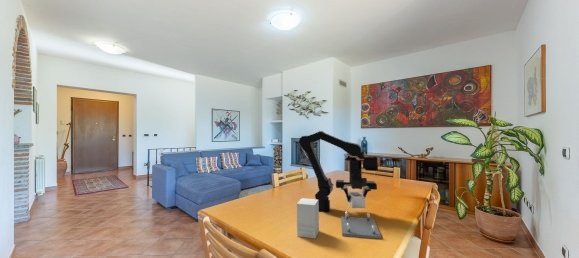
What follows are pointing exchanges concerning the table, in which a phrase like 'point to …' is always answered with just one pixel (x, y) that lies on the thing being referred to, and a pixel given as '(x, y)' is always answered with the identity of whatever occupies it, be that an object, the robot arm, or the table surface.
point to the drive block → (356, 199)
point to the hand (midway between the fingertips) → (355, 202)
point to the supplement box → (308, 218)
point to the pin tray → (359, 227)
